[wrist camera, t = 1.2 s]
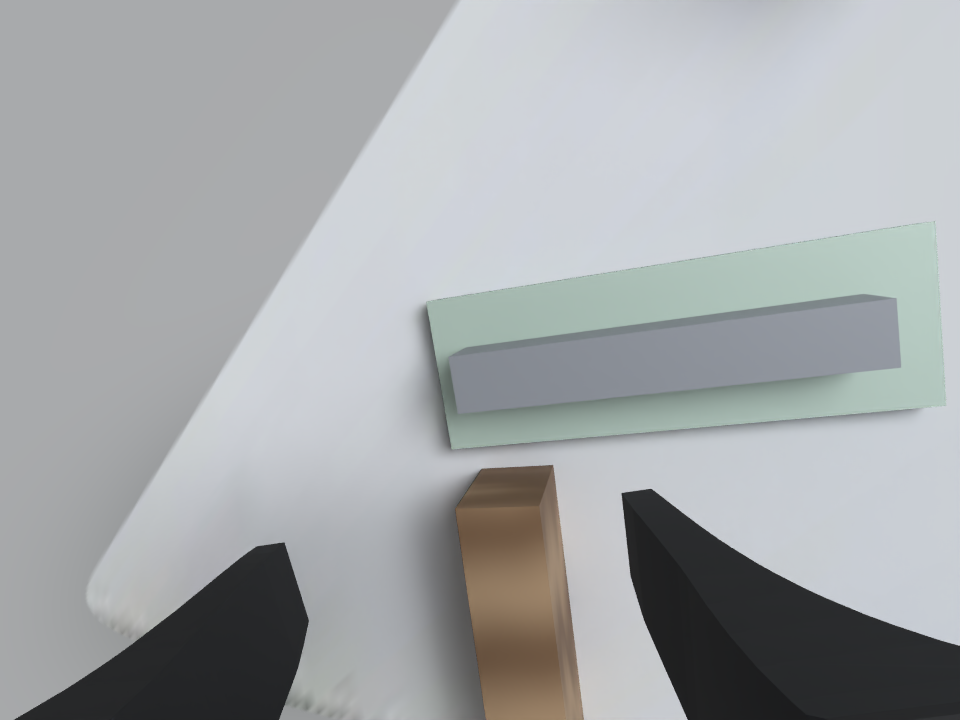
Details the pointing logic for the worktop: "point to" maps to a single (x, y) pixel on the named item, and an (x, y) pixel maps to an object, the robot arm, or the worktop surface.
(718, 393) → the ridge stand
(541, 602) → the walnut bar
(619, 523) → the worktop surface
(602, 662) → the worktop surface
